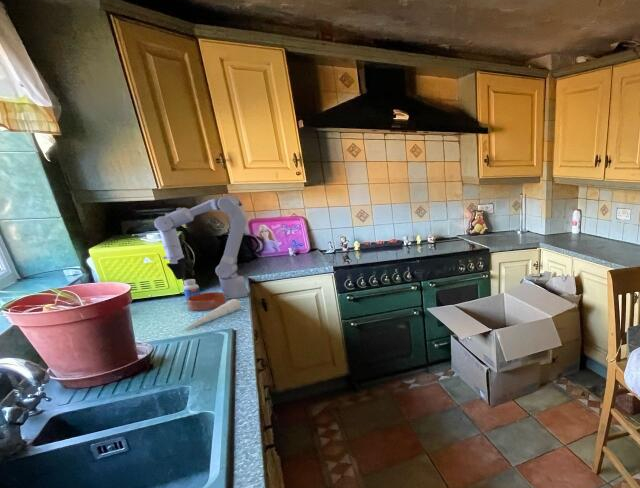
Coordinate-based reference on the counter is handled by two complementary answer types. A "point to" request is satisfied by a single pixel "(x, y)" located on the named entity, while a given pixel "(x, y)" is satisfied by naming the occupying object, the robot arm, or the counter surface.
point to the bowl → (206, 301)
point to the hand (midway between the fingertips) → (181, 277)
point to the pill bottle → (191, 288)
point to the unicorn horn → (218, 312)
